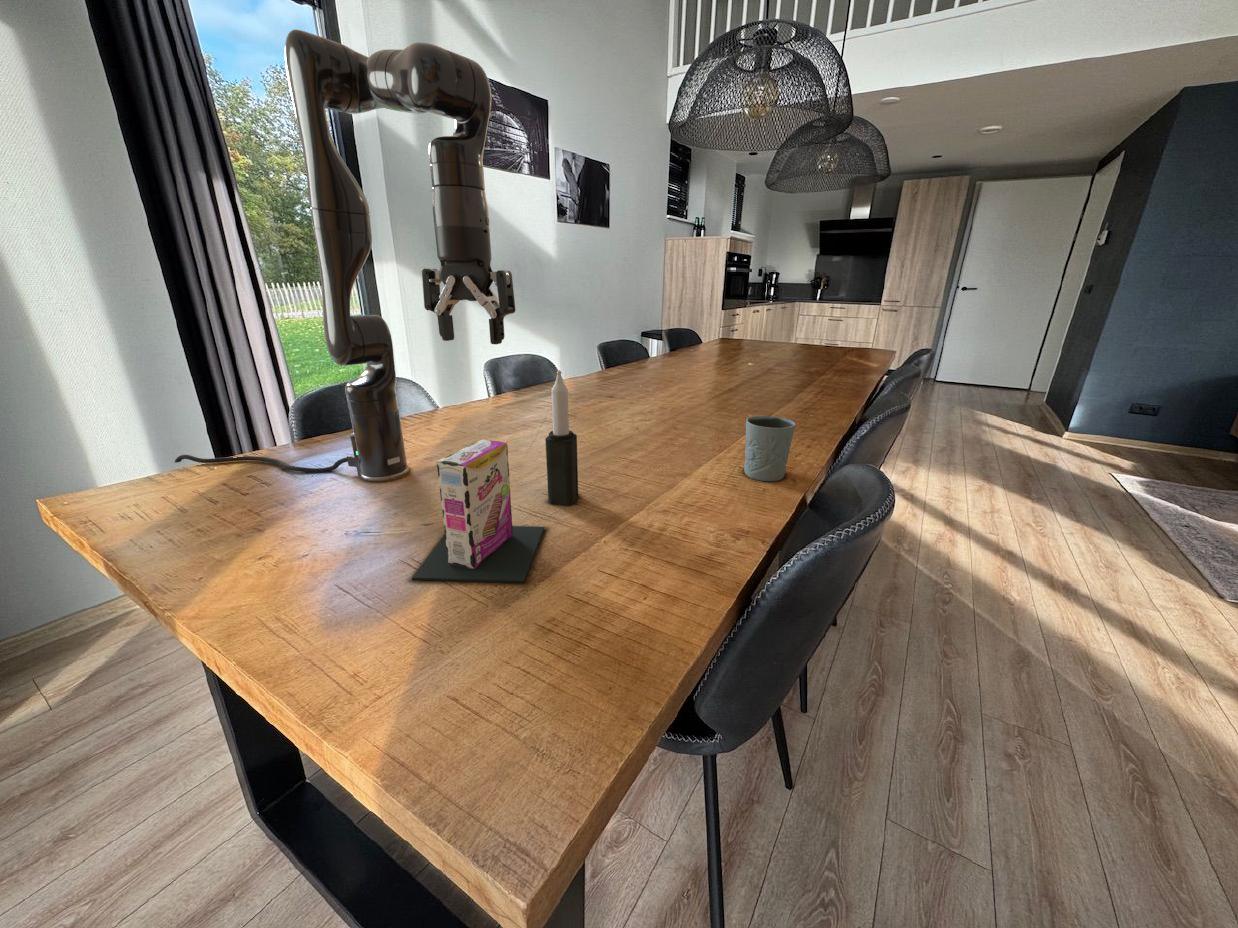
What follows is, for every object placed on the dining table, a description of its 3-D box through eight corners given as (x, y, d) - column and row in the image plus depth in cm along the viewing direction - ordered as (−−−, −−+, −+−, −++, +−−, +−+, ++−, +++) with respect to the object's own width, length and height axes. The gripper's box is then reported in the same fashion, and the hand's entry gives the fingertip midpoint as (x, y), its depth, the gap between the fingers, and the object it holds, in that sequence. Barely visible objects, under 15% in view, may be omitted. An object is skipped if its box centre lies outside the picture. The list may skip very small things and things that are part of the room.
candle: (572, 505, 93) (568, 373, 84) (546, 503, 93) (540, 372, 85) (579, 494, 97) (576, 368, 88) (555, 492, 98) (549, 367, 89)
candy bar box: (476, 571, 71) (464, 465, 65) (447, 564, 73) (433, 461, 67) (515, 535, 81) (508, 441, 75) (489, 530, 82) (480, 437, 77)
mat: (412, 580, 70) (411, 577, 69) (452, 526, 85) (451, 524, 84) (523, 583, 69) (523, 580, 69) (544, 528, 84) (544, 526, 84)
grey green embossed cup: (737, 478, 106) (742, 424, 102) (744, 463, 115) (749, 413, 110) (786, 485, 102) (794, 430, 98) (790, 469, 111) (797, 418, 107)
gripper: (402, 223, 68) (417, 342, 74) (492, 222, 64) (500, 348, 70) (436, 228, 75) (447, 336, 81) (519, 227, 71) (525, 342, 77)
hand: (472, 342), depth 76 cm, fingers open, 8 cm apart
